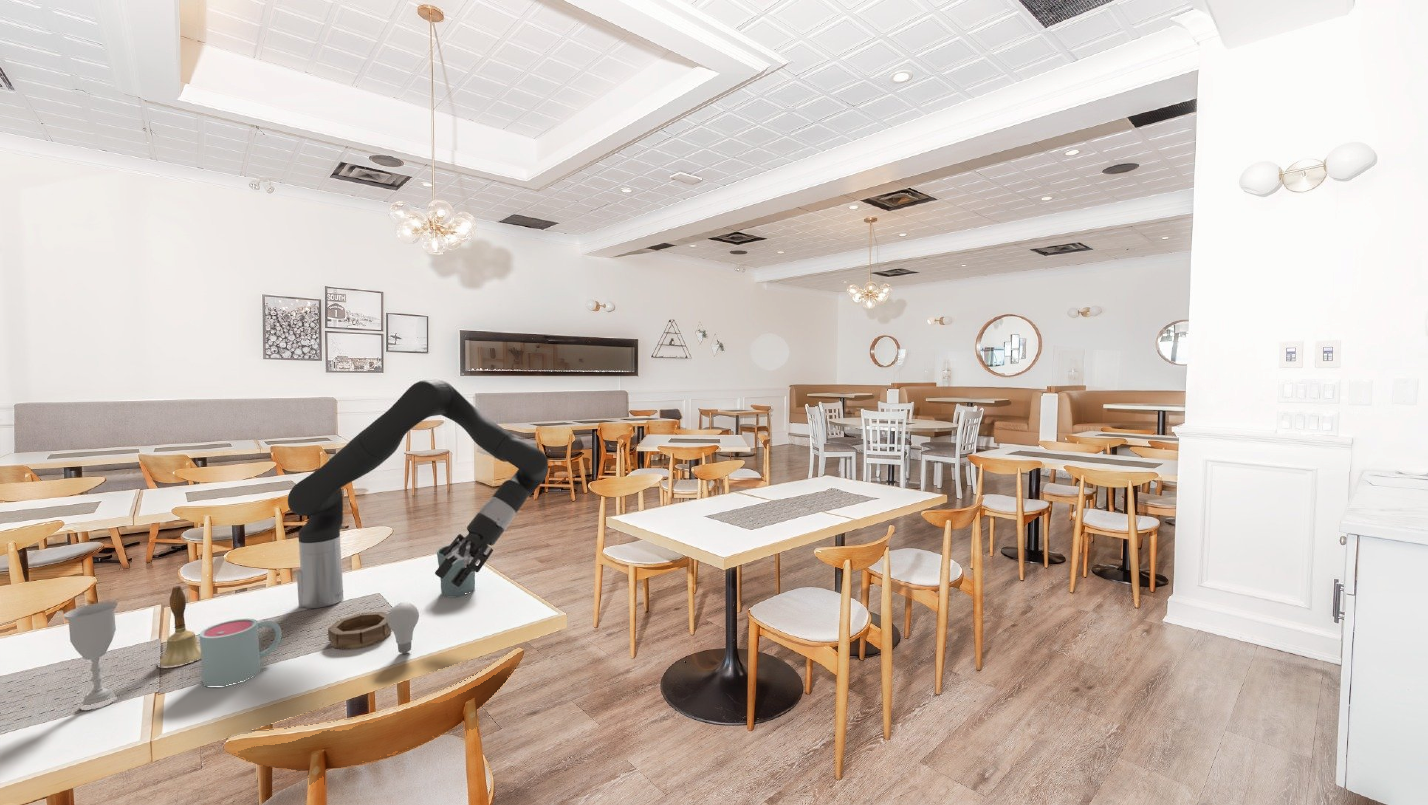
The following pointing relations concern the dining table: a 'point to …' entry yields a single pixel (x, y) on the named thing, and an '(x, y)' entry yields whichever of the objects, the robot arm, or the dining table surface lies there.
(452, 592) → the teal cylindrical pot
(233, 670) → the mug
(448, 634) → the dining table surface
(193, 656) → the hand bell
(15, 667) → the dining table surface
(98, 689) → the chalice
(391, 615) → the lightbulb
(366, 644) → the holder
